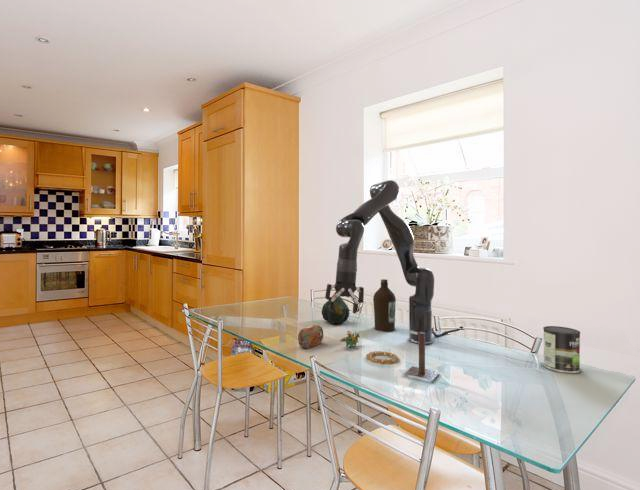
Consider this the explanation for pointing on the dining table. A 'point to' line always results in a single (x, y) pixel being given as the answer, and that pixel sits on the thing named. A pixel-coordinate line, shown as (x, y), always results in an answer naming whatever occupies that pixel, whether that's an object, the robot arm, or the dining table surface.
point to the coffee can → (562, 349)
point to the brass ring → (382, 361)
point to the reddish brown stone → (310, 336)
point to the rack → (422, 362)
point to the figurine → (351, 339)
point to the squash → (336, 311)
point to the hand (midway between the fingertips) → (343, 312)
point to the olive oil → (384, 308)
